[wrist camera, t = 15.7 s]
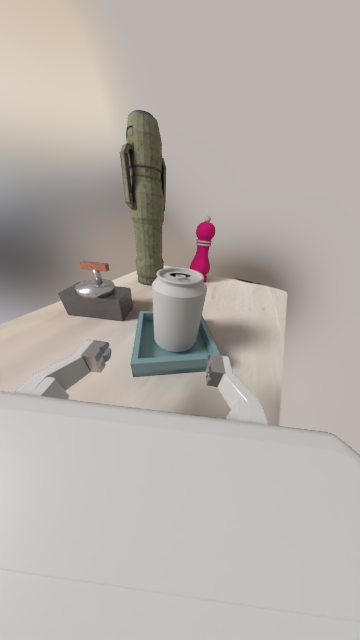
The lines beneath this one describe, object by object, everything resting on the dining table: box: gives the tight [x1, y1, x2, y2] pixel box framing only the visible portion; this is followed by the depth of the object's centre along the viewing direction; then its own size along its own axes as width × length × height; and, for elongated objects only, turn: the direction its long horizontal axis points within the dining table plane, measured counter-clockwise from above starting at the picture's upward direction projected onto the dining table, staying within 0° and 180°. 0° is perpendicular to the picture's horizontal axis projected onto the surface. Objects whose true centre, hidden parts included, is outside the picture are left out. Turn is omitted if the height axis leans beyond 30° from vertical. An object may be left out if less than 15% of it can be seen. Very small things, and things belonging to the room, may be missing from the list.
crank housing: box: [58, 261, 133, 321], centre depth 29 cm, size 7×12×10 cm, turn 85°
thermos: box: [120, 110, 166, 285], centre depth 39 cm, size 9×12×35 cm
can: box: [152, 267, 207, 352], centre depth 21 cm, size 8×8×12 cm
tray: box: [131, 311, 220, 377], centre depth 25 cm, size 13×13×3 cm
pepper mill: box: [190, 216, 215, 282], centre depth 48 cm, size 7×7×20 cm
